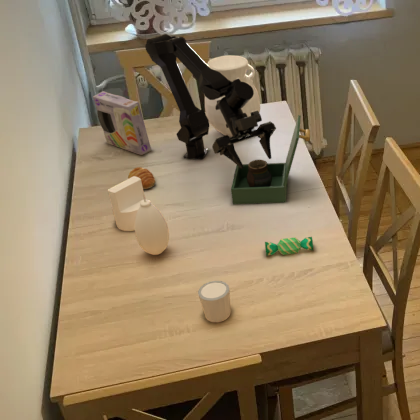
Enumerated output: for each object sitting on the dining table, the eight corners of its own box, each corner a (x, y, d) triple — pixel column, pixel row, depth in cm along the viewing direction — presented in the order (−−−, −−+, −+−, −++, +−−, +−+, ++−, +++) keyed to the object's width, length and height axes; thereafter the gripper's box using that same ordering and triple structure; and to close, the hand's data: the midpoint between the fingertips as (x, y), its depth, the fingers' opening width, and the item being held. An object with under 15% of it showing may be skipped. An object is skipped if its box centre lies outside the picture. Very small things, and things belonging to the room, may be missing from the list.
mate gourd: (269, 179, 197) (266, 149, 192) (276, 191, 191) (272, 161, 186) (245, 184, 195) (242, 154, 190) (251, 196, 189) (247, 166, 184)
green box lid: (296, 137, 177) (311, 141, 177) (298, 114, 189) (312, 118, 190) (283, 185, 185) (297, 189, 185) (285, 161, 197) (298, 164, 198)
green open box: (232, 204, 187) (230, 189, 184) (238, 178, 199) (236, 164, 197) (285, 202, 188) (284, 187, 185) (288, 176, 200) (286, 162, 197)
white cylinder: (204, 304, 151) (199, 281, 147) (234, 302, 151) (230, 279, 147) (200, 325, 145) (196, 301, 141) (232, 323, 145) (228, 299, 142)
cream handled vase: (257, 116, 237) (249, 49, 224) (267, 138, 222) (260, 67, 209) (205, 124, 232) (194, 56, 219) (212, 147, 218) (201, 75, 204)
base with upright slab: (136, 209, 186) (127, 172, 179) (157, 219, 181) (149, 181, 175) (109, 224, 180) (99, 186, 173) (130, 234, 175) (121, 196, 169)
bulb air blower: (160, 264, 164) (147, 203, 154) (134, 258, 166) (119, 198, 157) (178, 246, 170) (166, 187, 160) (153, 241, 172) (139, 182, 163)
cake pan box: (103, 142, 222) (90, 94, 212) (115, 137, 225) (103, 88, 216) (140, 157, 212) (128, 107, 203) (152, 151, 216) (141, 101, 206)
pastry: (162, 184, 197) (159, 173, 195) (141, 193, 193) (139, 182, 191) (146, 174, 203) (143, 163, 201) (126, 182, 199) (123, 171, 197)
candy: (266, 256, 164) (264, 240, 164) (266, 256, 168) (264, 240, 168) (313, 251, 166) (312, 235, 166) (313, 251, 169) (311, 235, 169)
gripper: (211, 112, 179) (235, 163, 178) (269, 95, 188) (293, 143, 187) (202, 129, 189) (225, 177, 187) (258, 111, 198) (280, 157, 197)
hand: (256, 163), depth 189 cm, fingers open, 9 cm apart
